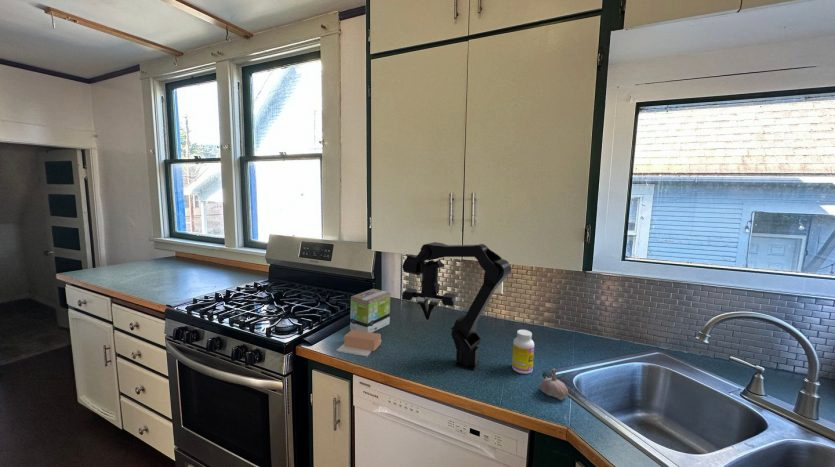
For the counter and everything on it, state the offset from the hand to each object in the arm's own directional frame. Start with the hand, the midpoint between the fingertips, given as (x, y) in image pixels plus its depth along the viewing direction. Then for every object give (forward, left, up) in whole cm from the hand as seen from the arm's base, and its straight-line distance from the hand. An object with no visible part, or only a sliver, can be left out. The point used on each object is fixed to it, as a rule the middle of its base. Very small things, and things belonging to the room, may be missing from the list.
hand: (427, 319), depth 125 cm
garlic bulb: (-44, +6, -12) cm, 46 cm away
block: (+16, +8, -9) cm, 21 cm away
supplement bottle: (-33, -4, -12) cm, 36 cm away
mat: (+24, +10, -12) cm, 28 cm away
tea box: (+31, -7, -12) cm, 34 cm away
